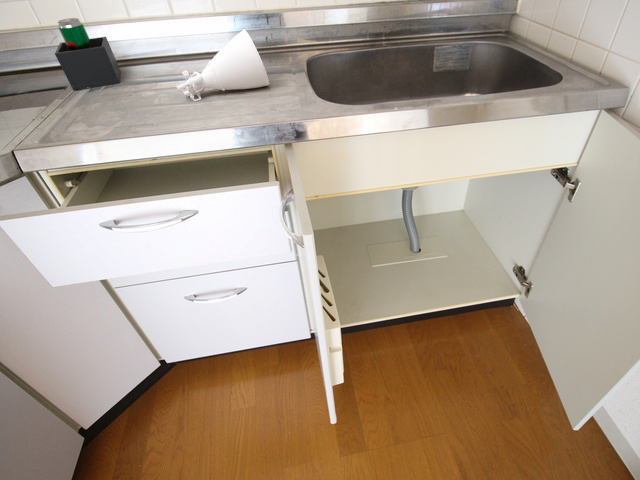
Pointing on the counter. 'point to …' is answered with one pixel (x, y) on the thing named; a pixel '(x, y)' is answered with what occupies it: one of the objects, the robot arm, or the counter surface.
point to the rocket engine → (229, 69)
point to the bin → (89, 64)
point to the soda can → (74, 34)
